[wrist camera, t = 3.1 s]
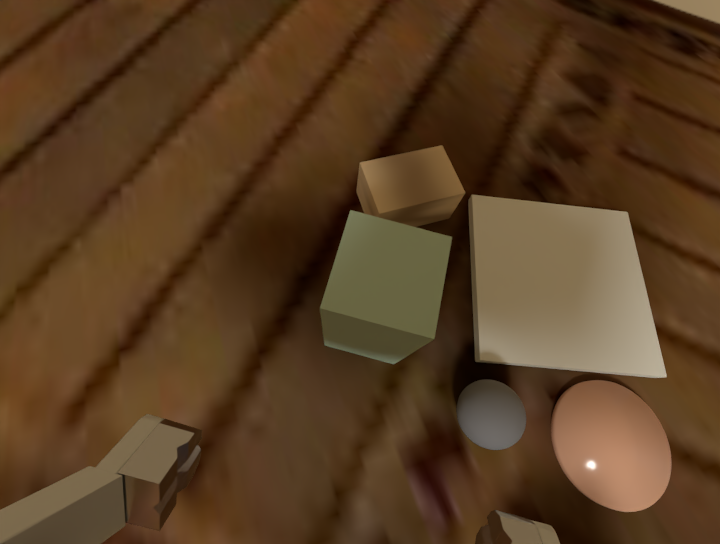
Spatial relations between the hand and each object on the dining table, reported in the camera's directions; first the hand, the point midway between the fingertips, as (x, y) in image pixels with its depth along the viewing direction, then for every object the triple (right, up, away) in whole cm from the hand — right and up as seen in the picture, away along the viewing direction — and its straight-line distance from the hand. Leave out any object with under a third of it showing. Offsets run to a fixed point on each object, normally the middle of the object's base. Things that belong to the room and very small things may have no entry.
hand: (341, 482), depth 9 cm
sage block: (+1, +3, +13) cm, 13 cm away
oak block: (+4, +11, +16) cm, 20 cm away
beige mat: (+14, +5, +15) cm, 21 cm away
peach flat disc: (+15, -5, +12) cm, 20 cm away
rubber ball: (+8, -2, +10) cm, 12 cm away
